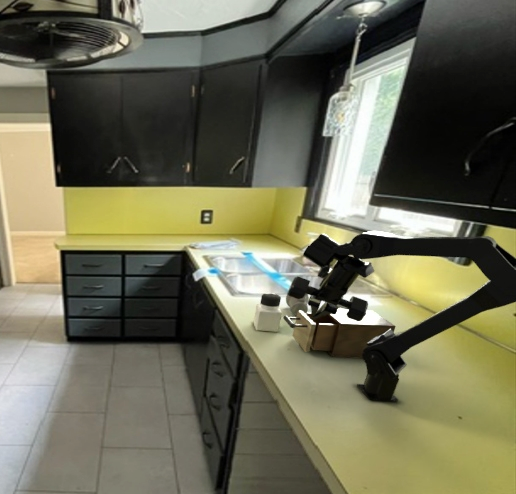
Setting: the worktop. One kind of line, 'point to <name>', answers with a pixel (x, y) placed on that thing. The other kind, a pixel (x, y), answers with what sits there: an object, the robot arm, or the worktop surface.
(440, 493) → the worktop surface
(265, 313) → the medicine bottle
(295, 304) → the pipe fitting
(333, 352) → the cabinet
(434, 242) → the robot arm
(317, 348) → the drawer
